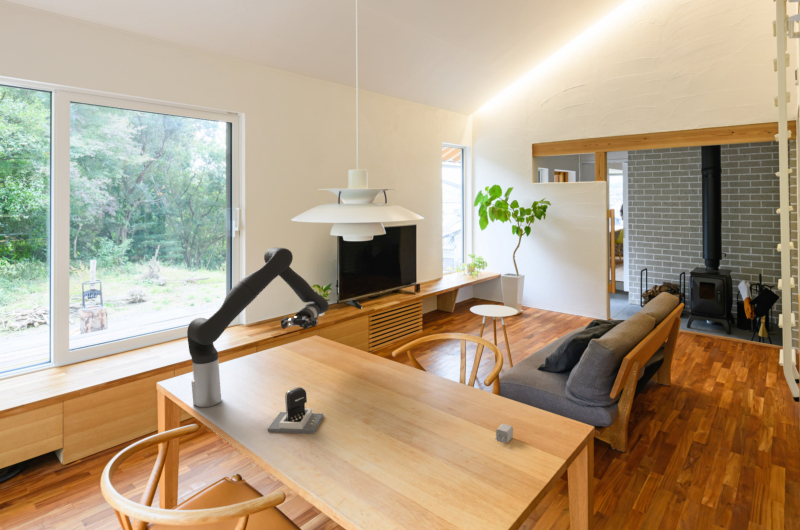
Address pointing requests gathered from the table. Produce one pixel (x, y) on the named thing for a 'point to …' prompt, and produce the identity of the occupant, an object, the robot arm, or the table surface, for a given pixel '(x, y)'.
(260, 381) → the table surface
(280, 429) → the charging dock
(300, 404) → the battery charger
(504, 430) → the usb wall charger
